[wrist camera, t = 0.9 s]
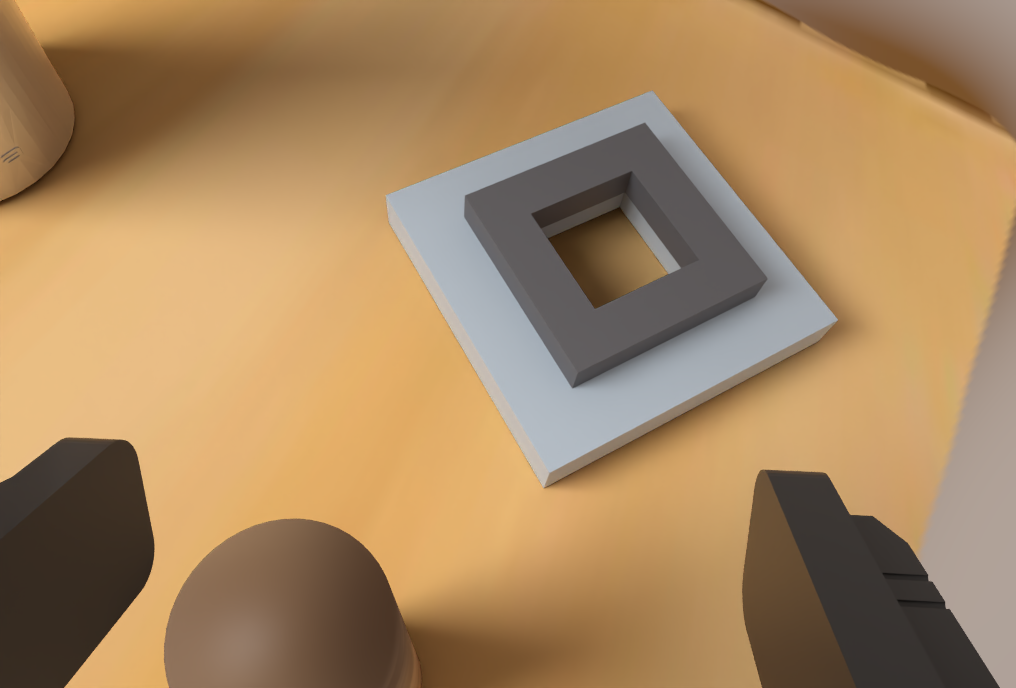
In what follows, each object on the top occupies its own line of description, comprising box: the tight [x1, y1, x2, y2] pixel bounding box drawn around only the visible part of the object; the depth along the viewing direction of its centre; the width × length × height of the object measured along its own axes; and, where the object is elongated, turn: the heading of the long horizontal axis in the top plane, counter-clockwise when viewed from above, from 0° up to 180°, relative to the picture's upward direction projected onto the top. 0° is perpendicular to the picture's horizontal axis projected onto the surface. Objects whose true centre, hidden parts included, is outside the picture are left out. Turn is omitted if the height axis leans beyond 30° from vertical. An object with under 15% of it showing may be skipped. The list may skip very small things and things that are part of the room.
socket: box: [386, 91, 838, 488], centre depth 34 cm, size 14×14×4 cm
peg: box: [164, 519, 422, 688], centre depth 21 cm, size 4×4×15 cm
